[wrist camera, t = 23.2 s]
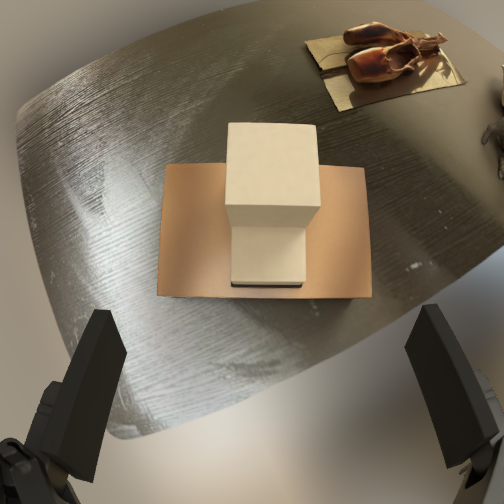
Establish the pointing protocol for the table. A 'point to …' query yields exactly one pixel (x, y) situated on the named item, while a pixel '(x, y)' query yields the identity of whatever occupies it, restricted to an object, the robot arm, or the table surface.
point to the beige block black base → (270, 201)
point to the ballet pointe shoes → (381, 64)
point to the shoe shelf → (220, 236)
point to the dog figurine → (500, 129)
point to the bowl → (503, 87)
